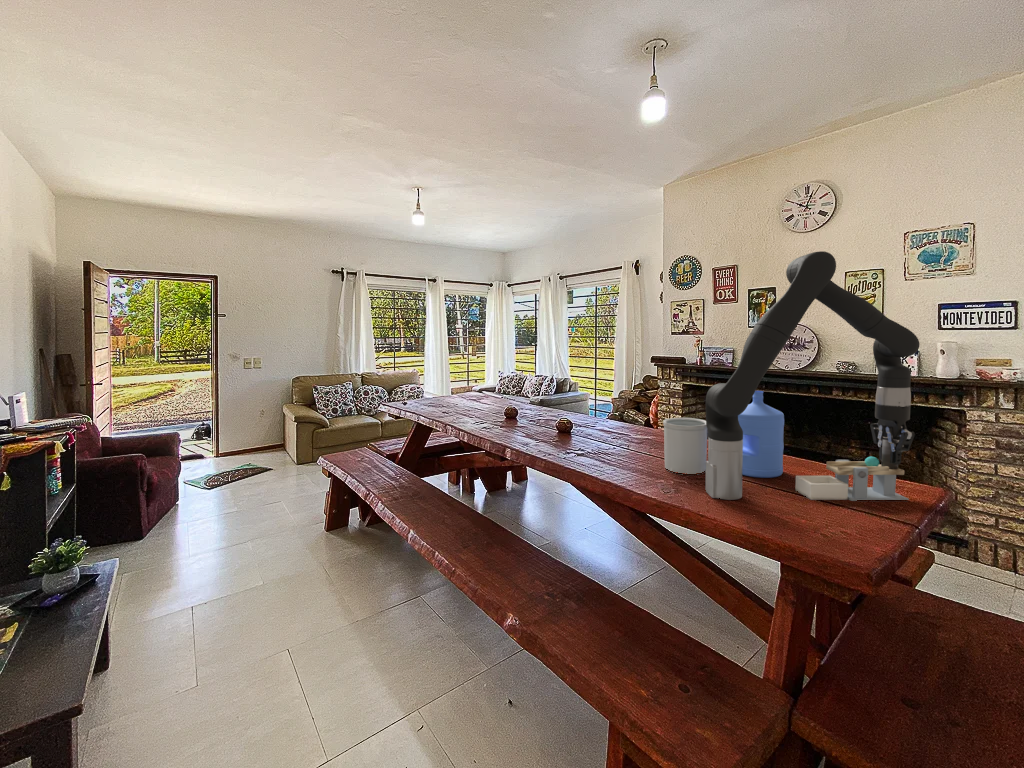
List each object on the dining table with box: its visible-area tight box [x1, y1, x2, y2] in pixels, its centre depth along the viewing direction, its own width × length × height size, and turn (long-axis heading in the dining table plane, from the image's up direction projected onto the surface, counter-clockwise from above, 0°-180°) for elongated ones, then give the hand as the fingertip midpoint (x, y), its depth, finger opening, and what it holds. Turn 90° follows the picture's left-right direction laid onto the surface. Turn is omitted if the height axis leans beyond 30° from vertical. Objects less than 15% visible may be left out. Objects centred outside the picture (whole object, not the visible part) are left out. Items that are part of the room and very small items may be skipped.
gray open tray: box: [795, 475, 849, 501], centre depth 128 cm, size 10×8×4 cm
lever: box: [825, 439, 905, 476], centre depth 126 cm, size 17×6×9 cm, turn 84°
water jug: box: [738, 390, 785, 479], centre depth 151 cm, size 16×16×28 cm
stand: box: [834, 459, 910, 502], centre depth 127 cm, size 15×10×9 cm, turn 84°
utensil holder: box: [662, 417, 708, 474], centre depth 157 cm, size 15×15×18 cm
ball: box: [864, 455, 880, 466], centre depth 126 cm, size 3×3×3 cm
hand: (889, 461), depth 126 cm, fingers closed on lever, 3 cm apart
